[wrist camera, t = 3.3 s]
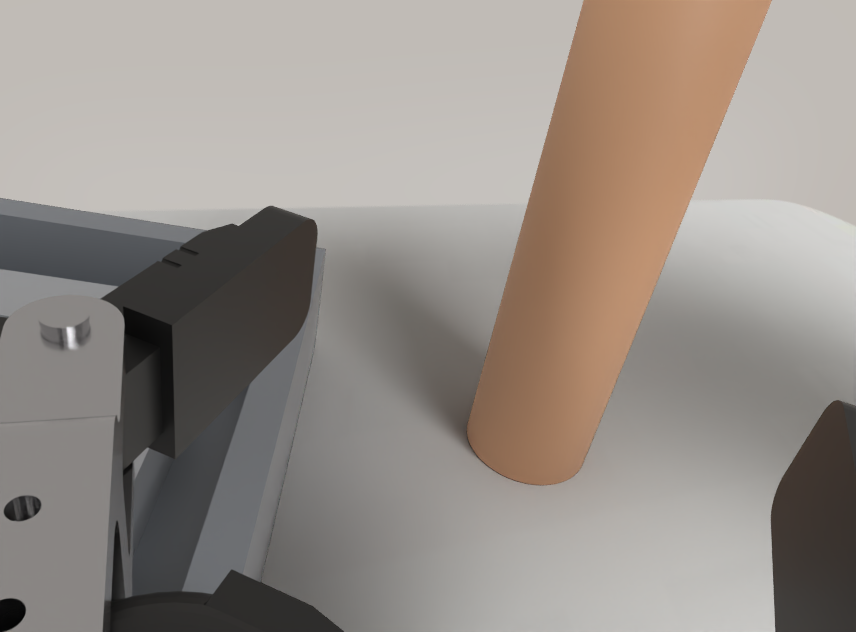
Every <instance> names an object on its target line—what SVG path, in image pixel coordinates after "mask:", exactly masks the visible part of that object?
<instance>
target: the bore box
mask: <svg viewBox="0 0 856 632" xmlns="http://www.w3.org/2000/svg"><path fill="white" fill-rule="evenodd" d="M204 231H207V230H201V229H195V228H188V227H182V226H176V225H169V224H163V223H156V222H150V221H144V220H137V219H131V218H125V217H118V216H112V215H105V214H99V213H93V212H86V211H80V210H74V209H67V208H61V207H54V206H48V205H41V204H35V203H29V202H23V201H15V200H10V199H3V198H0V317H5V318H9V316H10V315H11V314H13V313H14V312H15V311H16V310H18V309H19V308H21V307H22V306H24V305H26V304H29V303H31V302H34V301H36V300H39V299H43V298H47V297H52V296H59V295H83V296H90V297H95V298H99V299H101V298H102V297H104V296H105V295H107V294H108V293H110V292H111V291H113V290H114V289H116V288H117V287H119V286H120V285H122V284H123V283H125V282H127V281H128V280H130V279H131V278H133V277H134V276H136V275H137V274H139V273H140V272H142V271H143V270H145V269H146V268H148V267H149V266H151V265H153V264H154V263H156V262H157V261H160V262H161V261H162V259H163V257H165V256H166V255H168V254H169V253H171V252H172V251H174V250H176V249H177V250H179V249H180V246H182V245H183V244H185V243H186V242H188V241H189V240H191V239H192V238H194V237H195V236H197V235H198V234H200V233H202V232H204ZM325 252H326V249H322V248H316V254H315V263H314V273H313V283H312V293H311V302H310V307H309V311H308V314H307V317H306V320H305V322H304V324H303V326H302V328H301V330H300V331H299V333H298V334H297V335H296V337H295V338H294V339H293V340H292V341H291V342H290V343H289V344H288V345H287V346H286V347H285V348H284V349H283V350H282V351H281V352H280V353H279V354H278V355H277V356H276V357H275V358H274V359H273V360H272V361H271V362H270V363H269V364H268V365H267V366H266V367H265V368H264V370H263V371H262V372H261V373H260V374H259V375H258V376H257V377H256V378H255V379H254V380H253V381H252V382H251V383H250V384H249V385H248V386H247V387H246V388H245V389H244V390H243V391H242V392H241V393H240V394H239V395H238V396H237V397H236V398H235V399H234V400H233V401H232V402H231V403H230V404H229V405H228V406H227V407H226V408H225V409H224V410H223V411H222V412H221V413H220V414H219V416H218V417H217V418H216V419H215V420H214V421H213V422H212V423H211V424H210V425H209V426H208V427H207V428H206V429H205V430H204V431H203V432H202V433H201V434H200V435H199V436H198V437H197V438H196V439H195V440H194V441H193V442H192V443H191V444H190V445H189V446H188V447H187V448H186V449H185V450H184V451H183V452H182V453H181V454H180V455H179V456H178V457H177V458H176V459H173V458H171V457H168V456H166V455H164V454H161V453H159V452H157V451H154V450H152V449H150V448H148V447H147V448H146V449H145V450H144V451H143V452H142V453H141V454H140V455H139V456H138V457H137V458H136V459H135V460H134V470H135V482H134V523H133V565H132V595H133V596H135V595H142V594H148V593H155V592H171V591H188V592H203V593H209V594H213V593H214V592H215V591H216V589H217V588H218V586H219V585H220V584H221V582H222V581H223V580H224V578H225V577H226V576H227V574H228V573H229V572H230V570H231V569H232V570H235V571H237V572H239V573H241V574H243V575H245V576H248V577H250V578H252V579H254V580H256V581H259V582H261V578H262V574H263V569H264V565H265V561H266V556H267V552H268V547H269V543H270V539H271V534H272V530H273V526H274V521H275V517H276V513H277V508H278V504H279V500H280V495H281V491H282V487H283V482H284V478H285V474H286V469H287V465H288V460H289V456H290V452H291V447H292V443H293V439H294V434H295V430H296V426H297V421H298V417H299V413H300V408H301V404H302V400H303V395H304V391H305V387H306V382H307V378H308V373H309V369H310V365H311V360H312V356H313V352H314V347H315V342H316V333H317V324H318V315H319V306H320V297H321V288H322V279H323V270H324V261H325Z"/></svg>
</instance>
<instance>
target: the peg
mask: <svg viewBox="0 0 856 632" xmlns="http://www.w3.org/2000/svg"><path fill="white" fill-rule="evenodd" d="M771 1H772V0H584V1H583V5H582V9H581V12H580V16H579V20H578V23H577V27H576V31H575V34H574V38H573V41H572V45H571V49H570V52H569V56H568V60H567V64H566V67H565V71H564V74H563V78H562V82H561V85H560V89H559V93H558V96H557V100H556V103H555V107H554V111H553V114H552V118H551V122H550V125H549V129H548V133H547V136H546V140H545V143H544V147H543V151H542V155H541V158H540V162H539V165H538V169H537V173H536V176H535V180H534V184H533V187H532V191H531V195H530V198H529V202H528V205H527V209H526V213H525V216H524V220H523V224H522V227H521V231H520V235H519V238H518V242H517V245H516V249H515V253H514V256H513V260H512V264H511V267H510V271H509V275H508V278H507V282H506V286H505V289H504V293H503V296H502V300H501V304H500V307H499V311H498V315H497V318H496V322H495V326H494V329H493V333H492V337H491V340H490V344H489V347H488V351H487V355H486V358H485V362H484V366H483V369H482V373H481V377H480V380H479V384H478V388H477V391H476V395H475V398H474V402H473V406H472V409H471V413H470V417H469V420H468V424H467V436H468V440H469V443H470V445H471V447H472V449H473V450H474V452H475V453H476V455H477V456H478V457H479V458H480V459H481V460H482V461H483V462H484V463H485V464H486V465H487V466H489V467H490V468H491V469H493V470H494V471H496V472H498V473H499V474H501V475H503V476H505V477H507V478H510V479H512V480H515V481H519V482H522V483H527V484H533V485H551V484H557V483H561V482H564V481H566V480H568V479H570V478H571V477H573V476H574V475H575V474H576V473H578V471H579V470H580V469H581V467H582V465H583V462H584V460H585V457H586V455H587V453H588V450H589V448H590V445H591V443H592V440H593V438H594V435H595V433H596V430H597V428H598V426H599V423H600V421H601V418H602V416H603V413H604V411H605V408H606V406H607V403H608V401H609V399H610V396H611V394H612V391H613V389H614V386H615V384H616V381H617V379H618V377H619V374H620V372H621V369H622V367H623V364H624V362H625V359H626V357H627V354H628V352H629V350H630V347H631V345H632V342H633V340H634V337H635V335H636V332H637V330H638V327H639V325H640V323H641V320H642V318H643V315H644V313H645V310H646V308H647V305H648V303H649V301H650V298H651V296H652V293H653V291H654V288H655V286H656V283H657V281H658V278H659V276H660V274H661V271H662V269H663V266H664V264H665V261H666V259H667V256H668V254H669V251H670V249H671V247H672V244H673V242H674V239H675V237H676V234H677V232H678V229H679V227H680V224H681V222H682V220H683V217H684V215H685V212H686V210H687V207H688V205H689V202H690V200H691V197H692V195H693V193H694V190H695V188H696V185H697V183H698V180H699V178H700V175H701V173H702V171H703V168H704V166H705V163H706V161H707V158H708V156H709V153H710V151H711V148H712V146H713V144H714V141H715V139H716V136H717V134H718V131H719V129H720V126H721V124H722V122H723V119H724V117H725V114H726V112H727V109H728V107H729V104H730V102H731V99H732V97H733V95H734V92H735V90H736V87H737V85H738V82H739V80H740V77H741V75H742V72H743V70H744V68H745V65H746V63H747V60H748V58H749V55H750V53H751V50H752V48H753V46H754V43H755V41H756V38H757V36H758V33H759V31H760V28H761V26H762V23H763V21H764V18H765V16H766V14H767V11H768V9H769V6H770V4H771Z"/></svg>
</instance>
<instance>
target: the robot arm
mask: <svg viewBox="0 0 856 632" xmlns="http://www.w3.org/2000/svg"><path fill="white" fill-rule="evenodd" d="M316 244H317V225H316V223H315V221H314V220H312V219H309V218H306V217H303V216H301V215H298V214H295V213H292V212H289V211H286V210H283V209H280V208H277V207H274V206H268V207H266V208H264V209H263V210H261V211H260V212H259V213H257V214H256V215H254V216H253V217H251V218H250V219H248V220H247V221H245V222H244V223H243V224H241V225H240V226H237V225H234V224H229V225H226V226H222V227H219V228H215V229H212V230H208V231H204V232H202V233H200V234H198V235H197V236H195V237H194V238H192V239H191V240H189V241H188V242H186V243H185V244H183V245H182V246H180V249H179V250H177V249H176V250H174V251H172V252H171V253H169V254H168V255H166V256H165V257H163V259H162V261H161V262H160V261H157V262H156V263H154V264H153V265H151V266H149V267H148V268H146V269H145V270H143V271H142V272H140V273H139V274H137V275H136V276H134V277H133V278H131V279H130V280H128V281H127V282H125V283H123V284H122V285H120V286H119V287H117V288H116V289H114V290H113V291H111V292H110V293H108V294H107V295H105V296H104V297H102V298H101V299H99V298H95V297H90V296H83V295H59V296H52V297H47V298H43V299H39V300H36V301H34V302H31V303H29V304H26V305H24V306H22V307H21V308H19V309H18V310H16V311H15V312H14V313H13V314H11V315H10V316H9V318H5V317H0V632H344V631H343V630H341V629H340V628H339V627H338V626H336V625H335V624H334V623H333V622H331V621H330V620H329V619H328V618H327V617H325V616H324V615H323V614H322V613H320V612H319V611H318V610H317V609H315V608H314V607H313V606H311V605H309V604H307V603H305V602H302V601H300V600H298V599H296V598H294V597H291V596H289V595H287V594H285V593H283V592H281V591H278V590H276V589H274V588H272V587H270V586H267V585H265V584H263V583H261V582H259V581H256V580H254V579H252V578H250V577H248V576H245V575H243V574H241V573H239V572H237V571H235V570H232V569H231V570H230V572H229V573H228V574H227V576H226V577H225V578H224V580H223V581H222V582H221V584H220V585H219V586H218V588H217V589H216V591H215V592H214V593H213V594H209V593H203V592H188V591H171V592H155V593H148V594H142V595H135V596H133V595H132V565H133V523H134V482H135V470H134V460H135V459H136V458H137V457H138V456H139V455H140V454H141V453H142V452H143V451H144V450H145V449H146V448H147V447H148V448H150V449H152V450H154V451H157V452H159V453H161V454H164V455H166V456H168V457H171V458H173V459H176V458H177V457H178V456H179V455H180V454H181V453H182V452H183V451H184V450H185V449H186V448H187V447H188V446H189V445H190V444H191V443H192V442H193V441H194V440H195V439H196V438H197V437H198V436H199V435H200V434H201V433H202V432H203V431H204V430H205V429H206V428H207V427H208V426H209V425H210V424H211V423H212V422H213V421H214V420H215V419H216V418H217V417H218V416H219V414H220V413H221V412H222V411H223V410H224V409H225V408H226V407H227V406H228V405H229V404H230V403H231V402H232V401H233V400H234V399H235V398H236V397H237V396H238V395H239V394H240V393H241V392H242V391H243V390H244V389H245V388H246V387H247V386H248V385H249V384H250V383H251V382H252V381H253V380H254V379H255V378H256V377H257V376H258V375H259V374H260V373H261V372H262V371H263V370H264V368H265V367H266V366H267V365H268V364H269V363H270V362H271V361H272V360H273V359H274V358H275V357H276V356H277V355H278V354H279V353H280V352H281V351H282V350H283V349H284V348H285V347H286V346H287V345H288V344H289V343H290V342H291V341H292V340H293V339H294V338H295V337H296V335H297V334H298V333H299V331H300V330H301V328H302V326H303V324H304V322H305V320H306V317H307V314H308V311H309V307H310V302H311V293H312V283H313V273H314V263H315V254H316ZM771 535H772V559H773V584H774V608H775V632H856V406H854V405H851V404H848V403H845V402H842V401H839V400H836V401H834V402H832V403H831V404H830V405H829V406H828V407H827V408H826V409H825V411H824V412H823V414H822V415H821V417H820V418H819V420H818V422H817V423H816V425H815V426H814V428H813V430H812V431H811V433H810V434H809V436H808V437H807V439H806V441H805V442H804V444H803V445H802V447H801V449H800V450H799V452H798V453H797V455H796V457H795V458H794V460H793V461H792V463H791V465H790V466H789V468H788V469H787V471H786V472H785V474H784V476H783V478H782V479H781V481H780V483H779V486H778V488H777V491H776V494H775V497H774V501H773V505H772V511H771Z"/></svg>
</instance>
